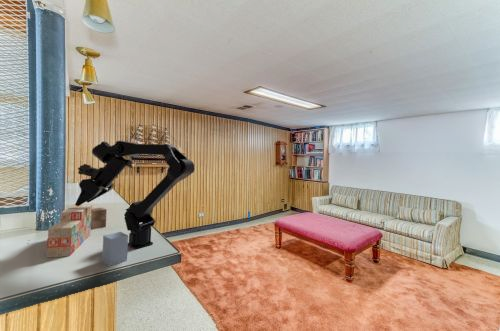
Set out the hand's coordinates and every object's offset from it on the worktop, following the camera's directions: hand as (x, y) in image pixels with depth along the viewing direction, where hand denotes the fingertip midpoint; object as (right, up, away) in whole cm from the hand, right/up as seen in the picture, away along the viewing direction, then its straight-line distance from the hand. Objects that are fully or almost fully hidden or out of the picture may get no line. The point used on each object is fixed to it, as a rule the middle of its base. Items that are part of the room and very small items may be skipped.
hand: (81, 203), depth 82 cm
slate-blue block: (+20, -16, -13) cm, 28 cm away
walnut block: (-7, -14, +19) cm, 24 cm away
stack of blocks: (-2, -15, -2) cm, 15 cm away
